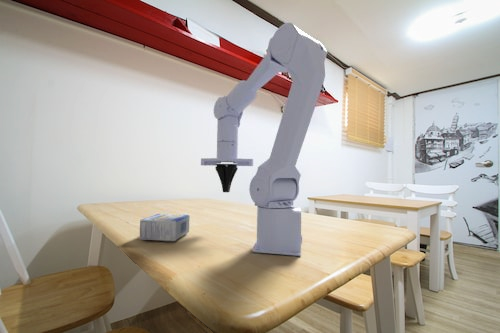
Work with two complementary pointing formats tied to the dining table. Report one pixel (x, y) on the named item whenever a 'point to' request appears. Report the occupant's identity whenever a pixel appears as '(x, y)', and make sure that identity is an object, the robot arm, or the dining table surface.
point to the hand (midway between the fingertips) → (226, 192)
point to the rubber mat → (164, 240)
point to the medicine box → (164, 227)
